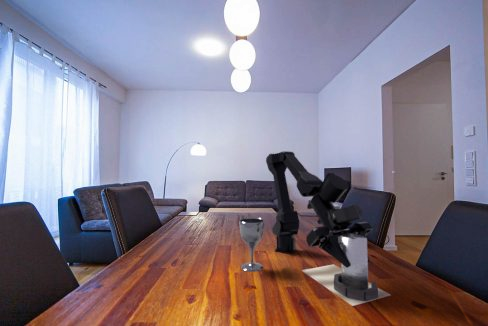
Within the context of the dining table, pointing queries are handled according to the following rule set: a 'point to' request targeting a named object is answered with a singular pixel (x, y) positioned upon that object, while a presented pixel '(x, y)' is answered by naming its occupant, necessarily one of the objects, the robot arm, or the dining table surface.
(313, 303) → the dining table surface
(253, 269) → the wine glass
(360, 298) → the ring stand
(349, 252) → the grey round cylinder
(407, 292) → the dining table surface
